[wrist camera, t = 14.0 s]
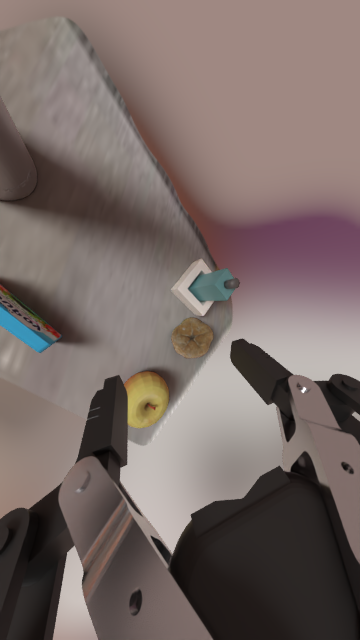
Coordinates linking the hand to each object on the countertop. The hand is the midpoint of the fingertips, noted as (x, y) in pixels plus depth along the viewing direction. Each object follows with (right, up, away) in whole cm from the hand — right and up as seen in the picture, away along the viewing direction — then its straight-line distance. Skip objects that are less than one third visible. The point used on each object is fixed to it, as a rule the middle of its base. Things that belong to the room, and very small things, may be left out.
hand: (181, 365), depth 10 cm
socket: (+3, +11, +25) cm, 28 cm away
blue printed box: (-24, +4, +12) cm, 27 cm away
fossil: (+1, 0, +26) cm, 26 cm away
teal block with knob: (+3, +11, +25) cm, 28 cm away
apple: (-9, -12, +22) cm, 26 cm away
